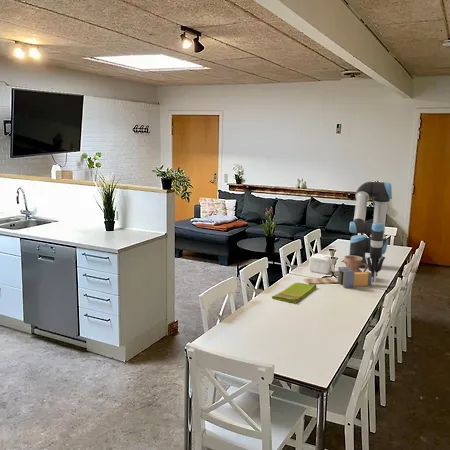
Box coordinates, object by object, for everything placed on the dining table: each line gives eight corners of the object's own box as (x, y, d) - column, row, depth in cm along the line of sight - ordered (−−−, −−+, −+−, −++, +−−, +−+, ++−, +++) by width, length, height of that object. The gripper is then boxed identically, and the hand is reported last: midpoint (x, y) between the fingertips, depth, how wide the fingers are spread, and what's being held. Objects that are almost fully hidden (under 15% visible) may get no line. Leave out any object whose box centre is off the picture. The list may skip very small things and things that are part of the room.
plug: (367, 283, 308) (368, 271, 306) (371, 285, 303) (372, 273, 302) (342, 284, 304) (343, 272, 303) (345, 286, 300) (346, 274, 298)
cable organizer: (333, 271, 334) (334, 256, 332) (328, 275, 325) (329, 259, 323) (313, 268, 342) (314, 253, 339) (307, 271, 333) (308, 255, 331)
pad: (331, 278, 316) (331, 277, 316) (337, 283, 306) (337, 282, 306) (303, 279, 312) (303, 278, 312) (309, 284, 302) (309, 283, 302)
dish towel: (271, 299, 273) (271, 294, 272) (294, 284, 303) (294, 279, 302) (295, 304, 265) (295, 299, 264) (317, 288, 295) (317, 284, 295)
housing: (345, 282, 308) (347, 265, 306) (353, 287, 298) (354, 270, 296) (337, 283, 307) (338, 266, 304) (344, 288, 296) (345, 270, 294)
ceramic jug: (336, 277, 319) (338, 257, 316) (341, 272, 332) (343, 253, 329) (363, 282, 311) (365, 262, 308) (367, 276, 324) (369, 257, 321)
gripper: (382, 245, 307) (379, 279, 311) (364, 245, 304) (361, 280, 308) (388, 247, 299) (385, 282, 303) (370, 248, 297) (367, 283, 301)
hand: (373, 281), depth 306 cm, fingers closed
